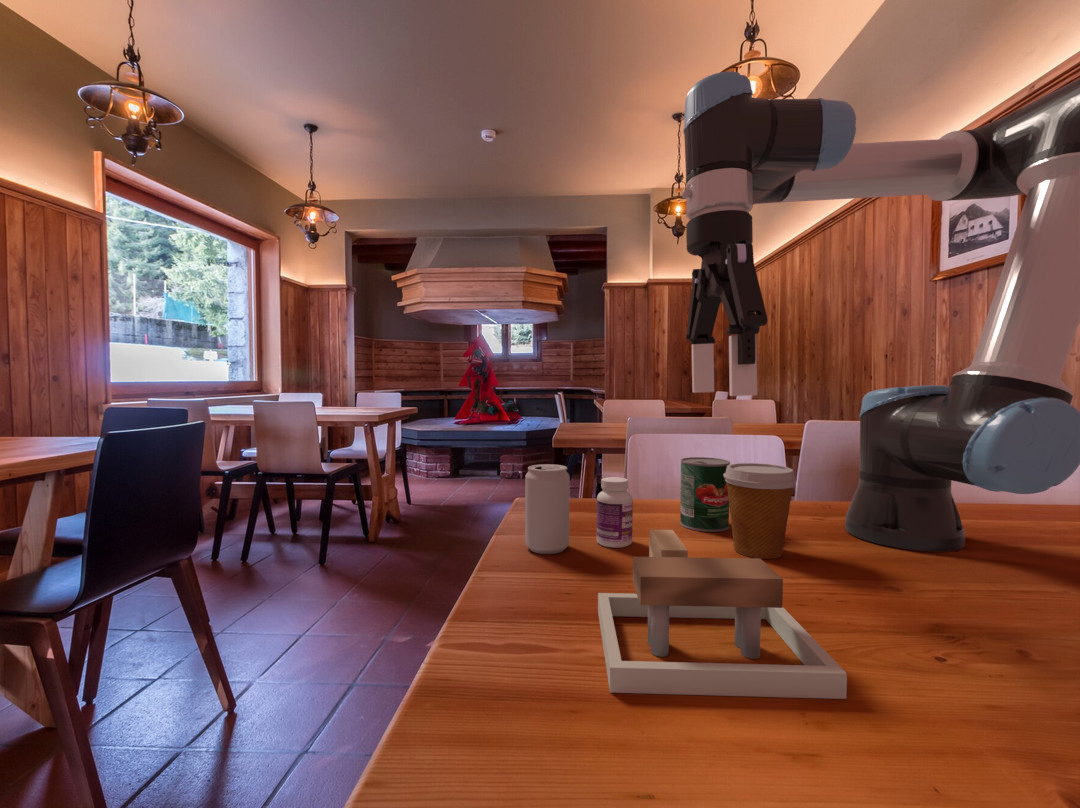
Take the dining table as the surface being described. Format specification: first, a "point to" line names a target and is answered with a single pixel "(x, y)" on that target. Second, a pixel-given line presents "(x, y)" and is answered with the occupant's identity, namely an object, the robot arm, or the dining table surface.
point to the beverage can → (547, 508)
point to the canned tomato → (704, 494)
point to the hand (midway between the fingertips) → (721, 394)
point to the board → (706, 582)
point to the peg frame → (718, 678)
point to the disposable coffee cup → (759, 507)
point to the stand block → (665, 544)
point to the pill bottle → (614, 513)
